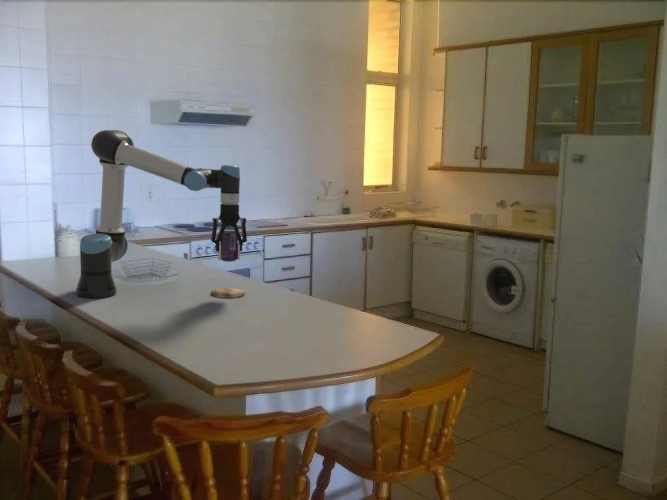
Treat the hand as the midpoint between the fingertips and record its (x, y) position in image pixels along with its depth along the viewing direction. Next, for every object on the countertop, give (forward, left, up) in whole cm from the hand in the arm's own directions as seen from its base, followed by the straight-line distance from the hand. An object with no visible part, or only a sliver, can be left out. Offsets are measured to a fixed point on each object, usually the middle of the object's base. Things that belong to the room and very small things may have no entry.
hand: (228, 259), depth 284 cm
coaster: (0, 0, -15) cm, 15 cm away
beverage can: (0, 0, -1) cm, 1 cm away
